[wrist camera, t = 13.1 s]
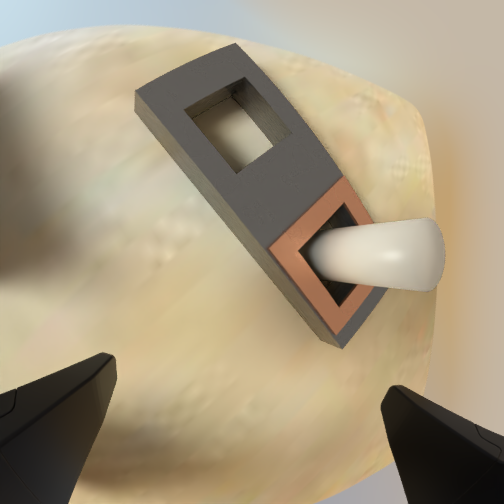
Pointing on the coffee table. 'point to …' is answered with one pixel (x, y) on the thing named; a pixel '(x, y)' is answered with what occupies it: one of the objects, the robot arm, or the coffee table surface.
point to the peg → (379, 254)
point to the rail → (264, 182)
